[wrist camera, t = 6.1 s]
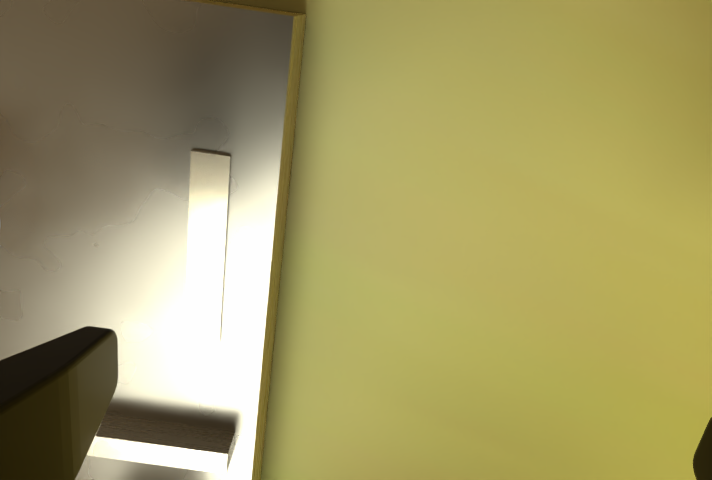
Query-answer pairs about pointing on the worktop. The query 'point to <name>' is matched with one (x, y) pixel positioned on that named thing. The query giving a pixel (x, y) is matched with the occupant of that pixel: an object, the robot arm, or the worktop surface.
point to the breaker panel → (152, 214)
